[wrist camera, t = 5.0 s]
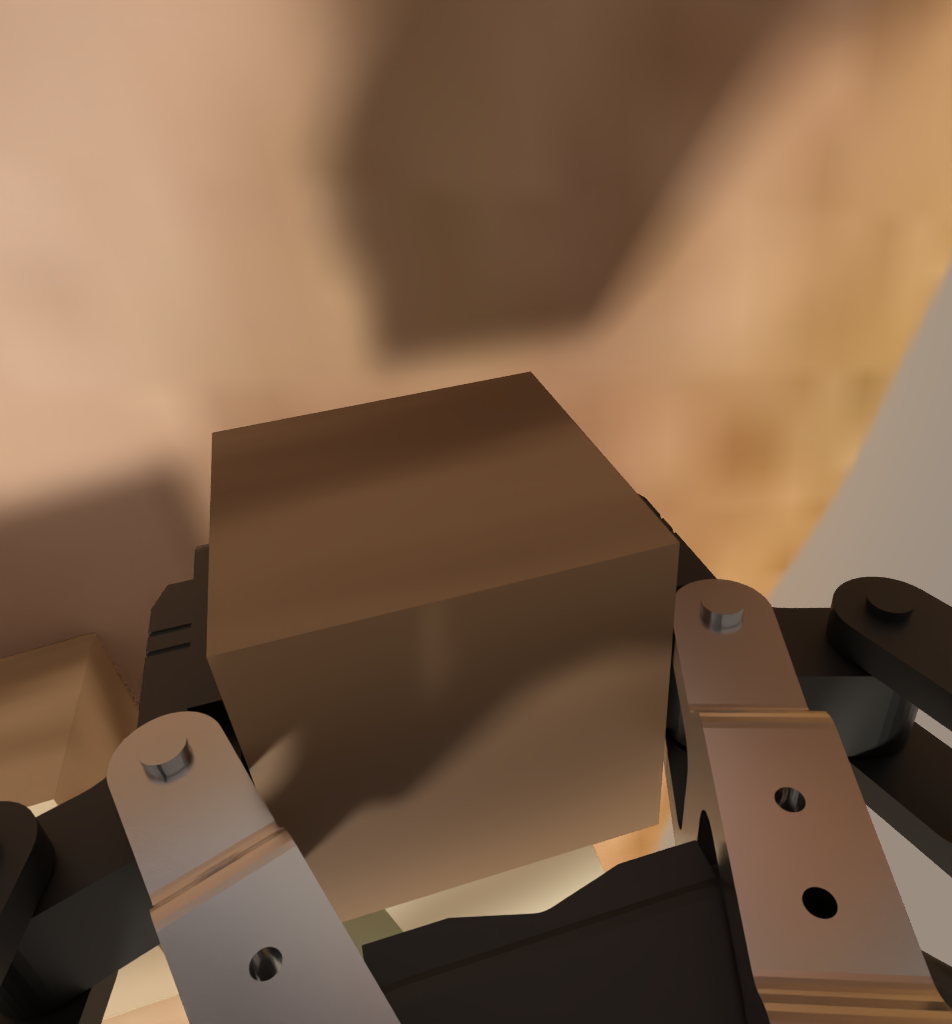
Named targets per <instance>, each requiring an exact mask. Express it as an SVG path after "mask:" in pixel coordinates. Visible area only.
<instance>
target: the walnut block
mask: <svg viewBox="0 0 952 1024" xmlns="http://www.w3.org/2000/svg"><path fill="white" fill-rule="evenodd" d="M679 546H680V542H679V541H678V540H677V539H676V538H675V536H674V535H673V534H672V533H671V532H670V531H669V530H668V528H667V527H666V526H665V525H664V524H663V523H662V522H661V520H660V519H659V518H658V517H657V516H656V515H655V514H654V512H653V511H652V510H651V509H650V508H649V507H648V506H647V504H646V503H645V502H644V501H643V500H642V499H641V497H640V496H639V495H638V494H637V493H636V492H635V491H634V489H633V488H632V487H631V486H630V485H629V484H628V483H627V481H626V480H625V479H624V478H623V477H622V476H621V475H620V473H619V472H618V471H617V470H616V469H615V468H614V467H613V465H612V464H611V463H610V462H609V461H608V460H607V459H606V457H605V456H604V455H603V454H602V453H601V452H600V450H599V449H598V448H597V447H596V446H595V445H594V444H593V442H592V441H591V440H590V439H589V438H588V437H587V436H586V434H585V433H584V432H583V431H582V430H581V429H580V428H579V426H578V425H577V424H576V423H575V422H574V421H573V420H572V418H571V417H570V416H569V415H568V414H567V413H566V411H565V410H564V409H563V408H562V407H561V406H560V405H559V403H558V402H557V401H556V400H555V399H554V398H553V397H552V395H551V394H550V393H549V392H548V391H547V390H546V389H545V387H544V386H543V385H542V384H541V383H540V382H539V381H538V379H537V378H536V377H535V376H534V375H533V374H532V373H531V372H526V373H521V374H515V375H510V376H505V377H500V378H495V379H489V380H484V381H479V382H474V383H469V384H463V385H458V386H453V387H448V388H443V389H437V390H432V391H427V392H422V393H417V394H412V395H406V396H401V397H396V398H391V399H386V400H380V401H375V402H370V403H365V404H360V405H354V406H349V407H344V408H339V409H334V410H328V411H323V412H318V413H313V414H308V415H302V416H297V417H292V418H287V419H282V420H277V421H271V422H266V423H261V424H256V425H251V426H245V427H240V428H235V429H230V430H225V431H219V432H214V433H212V463H211V501H210V539H209V576H208V614H207V652H206V657H207V660H208V663H209V665H210V668H211V671H212V673H213V676H214V679H215V681H216V684H217V687H218V689H219V692H220V694H221V697H222V700H223V702H224V705H225V708H226V710H227V713H228V716H229V718H230V721H231V723H232V726H233V729H234V731H235V734H236V737H237V739H238V742H239V745H240V747H241V750H242V752H243V755H244V758H245V760H246V763H247V766H248V768H249V771H250V774H251V776H252V779H253V782H254V784H255V787H256V789H257V791H258V792H259V794H260V796H261V797H262V799H263V801H264V803H265V804H266V806H267V808H268V810H269V811H270V813H271V815H272V817H273V818H274V820H275V822H276V823H277V825H278V827H279V828H282V827H284V828H285V829H286V830H287V831H288V833H289V834H290V836H291V837H292V839H293V840H294V842H295V844H296V845H297V847H298V849H299V851H300V852H301V854H302V856H303V857H304V859H305V861H306V863H307V864H308V866H309V868H310V869H311V871H312V873H313V875H314V876H315V878H316V880H317V881H318V883H319V885H320V886H321V888H322V890H323V892H324V893H325V895H326V897H327V898H328V900H329V902H330V904H331V905H332V907H333V909H334V910H335V912H336V914H337V916H338V917H339V919H340V921H341V922H344V921H348V920H351V919H354V918H357V917H361V916H364V915H367V914H370V913H373V912H377V911H380V910H383V909H386V908H390V907H393V906H396V905H399V904H403V903H406V902H409V901H412V900H415V899H419V898H422V897H425V896H428V895H432V894H435V893H438V892H441V891H444V890H448V889H451V888H454V887H457V886H461V885H464V884H467V883H470V882H473V881H477V880H480V879H483V878H486V877H490V876H493V875H496V874H499V873H502V872H506V871H509V870H512V869H515V868H519V867H522V866H525V865H528V864H531V863H535V862H538V861H541V860H544V859H548V858H551V857H554V856H557V855H561V854H564V853H567V852H570V851H573V850H577V849H580V848H583V847H586V846H590V845H593V844H596V843H599V842H602V841H606V840H609V839H612V838H615V837H619V836H622V835H625V834H628V833H631V832H635V831H638V830H641V829H644V828H648V827H651V826H654V825H657V824H659V811H660V798H661V785H662V772H663V758H664V745H665V732H666V719H667V705H668V692H669V679H670V666H671V652H672V639H673V626H674V613H675V599H676V586H677V573H678V560H679Z"/></svg>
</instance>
